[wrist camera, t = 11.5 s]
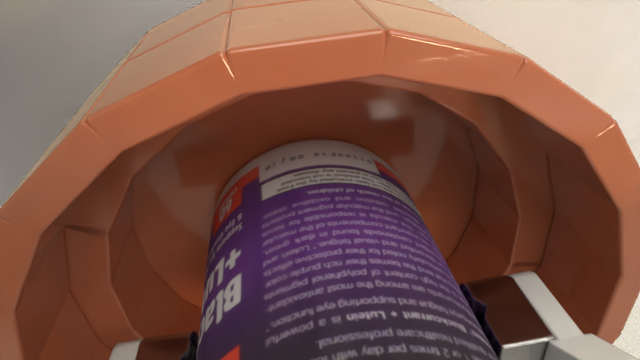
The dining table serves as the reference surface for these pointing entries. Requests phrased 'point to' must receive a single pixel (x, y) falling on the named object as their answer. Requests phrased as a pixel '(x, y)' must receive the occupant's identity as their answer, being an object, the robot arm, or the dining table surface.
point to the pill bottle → (328, 266)
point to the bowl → (312, 124)
